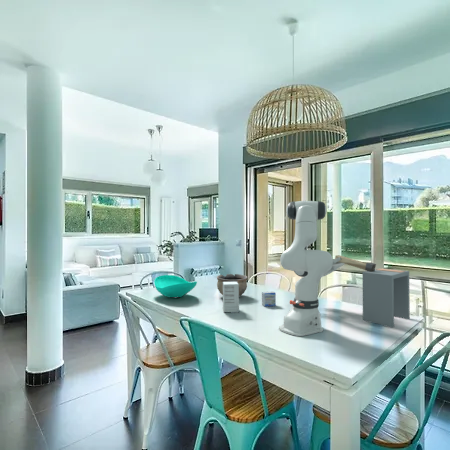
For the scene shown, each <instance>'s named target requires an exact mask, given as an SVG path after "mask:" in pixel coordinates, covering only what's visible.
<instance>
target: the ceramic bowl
mask: <svg viewBox="0 0 450 450" xmlns="http://www.w3.org/2000/svg"><path fill="white" fill-rule="evenodd" d="M216 280H217V283H216V286H217V290H218V292H219V293H220V294H221V295H222V296H223V282H237V283H238V284H239V297H242V295H244V294H245V292H246V291H247V289H248V283H247V282H248V281H247V280H248V276H247V275H243V274H239V273H234V274H233V273H227V274H225V275H223V274H220V275H219V274H218V275H217V276H216Z"/></svg>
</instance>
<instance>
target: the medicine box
mask: <svg viewBox="0 0 450 450" xmlns="http://www.w3.org/2000/svg"><path fill="white" fill-rule="evenodd" d="M276 293H277V292H275V291H261V306H263V307H265V308H270V307H276V305H277V304H276V303H277V301H276V296H277V295H276Z"/></svg>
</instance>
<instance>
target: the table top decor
mask: <svg viewBox="0 0 450 450" xmlns="http://www.w3.org/2000/svg"><path fill="white" fill-rule="evenodd" d="M153 283H154V286H155V287H154V288H155V290H156V291H157V292H158V293H160V294H161V295H162V296H164V297H168V298H170V297H180V298H182V297H183V296H185V295H186V294H188V293H190V292H191V291H192V290H193V289H194V288H195V287H196V286H197V283H198V281H188V280H186V279H184V278H183V277H180V276H178V275H174V274H165V275H159V276H157V277H155V279H154V282H153Z"/></svg>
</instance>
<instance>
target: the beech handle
mask: <svg viewBox="0 0 450 450" xmlns="http://www.w3.org/2000/svg"><path fill="white" fill-rule="evenodd" d="M339 257H341V259H342V260H340V261H338V262H341V263H344V265H349V266H350V267H351V266H352V267H355V268H357V269H361V270H363V271H369V272H372V271H375V269H376V266H377V264H376V263H374V262H364V261H360V260H356V259H352V258H350V257H346V256H344V255H335V256H334V259H337V258H339Z"/></svg>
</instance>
